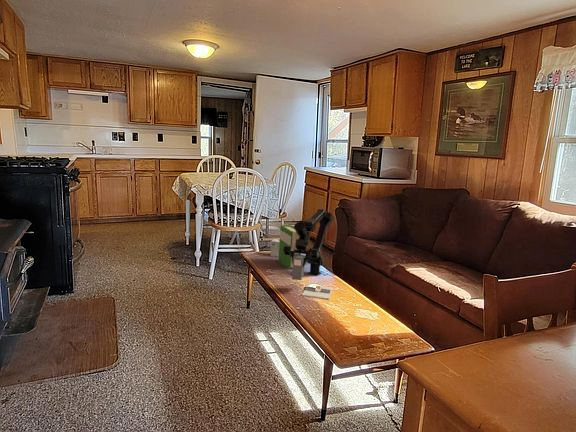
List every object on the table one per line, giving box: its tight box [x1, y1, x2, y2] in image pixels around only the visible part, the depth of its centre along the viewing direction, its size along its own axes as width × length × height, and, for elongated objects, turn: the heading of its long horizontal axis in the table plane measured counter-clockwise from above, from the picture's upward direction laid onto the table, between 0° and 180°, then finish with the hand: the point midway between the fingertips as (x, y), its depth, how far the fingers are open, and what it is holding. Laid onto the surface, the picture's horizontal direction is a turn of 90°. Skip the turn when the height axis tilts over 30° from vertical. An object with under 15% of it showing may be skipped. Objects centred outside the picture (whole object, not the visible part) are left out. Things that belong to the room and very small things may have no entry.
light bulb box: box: [270, 238, 280, 258], centre depth 269 cm, size 11×7×11 cm, turn 84°
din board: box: [301, 284, 334, 300], centre depth 207 cm, size 16×14×1 cm
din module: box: [291, 254, 306, 281], centre depth 207 cm, size 6×5×12 cm
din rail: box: [305, 286, 331, 293], centre depth 206 cm, size 2×13×1 cm, turn 77°
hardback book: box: [278, 224, 302, 270], centre depth 248 cm, size 18×7×24 cm, turn 23°
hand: (298, 265), depth 205 cm, fingers closed on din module, 5 cm apart
